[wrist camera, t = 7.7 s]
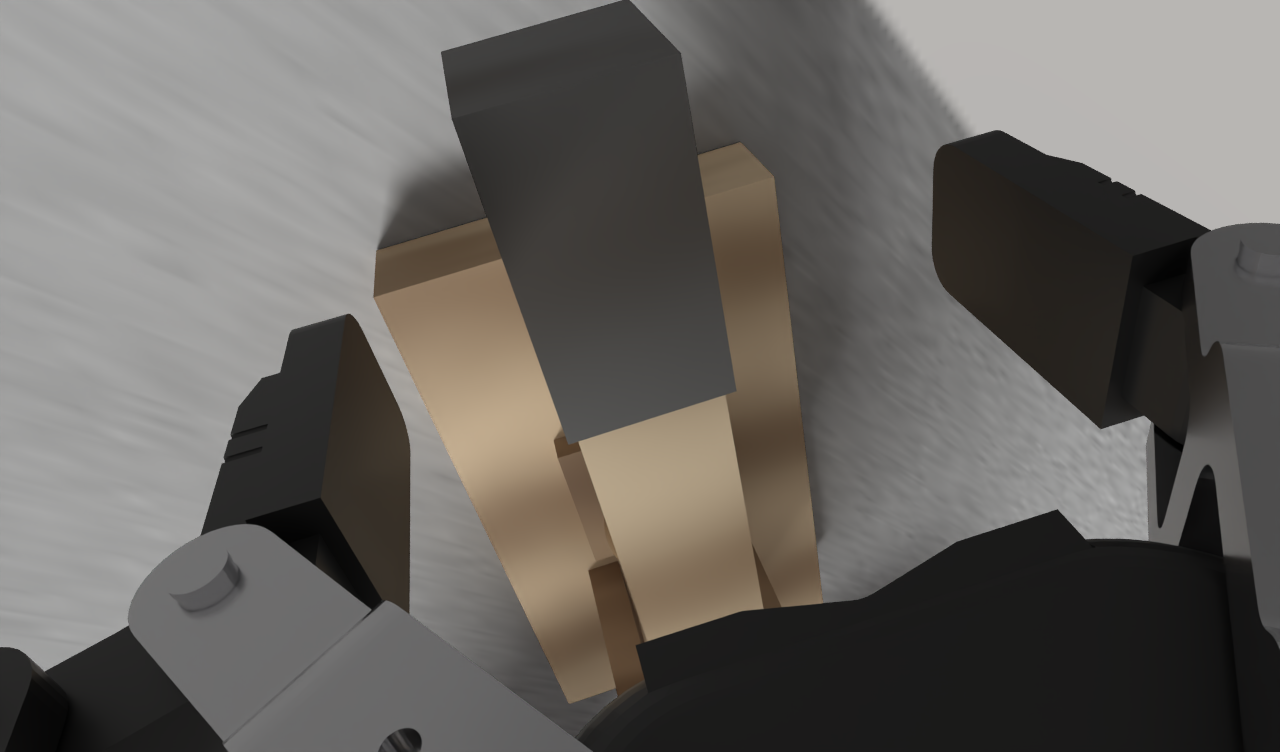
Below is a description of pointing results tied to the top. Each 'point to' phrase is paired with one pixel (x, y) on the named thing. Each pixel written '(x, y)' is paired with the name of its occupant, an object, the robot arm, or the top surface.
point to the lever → (617, 289)
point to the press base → (556, 472)
